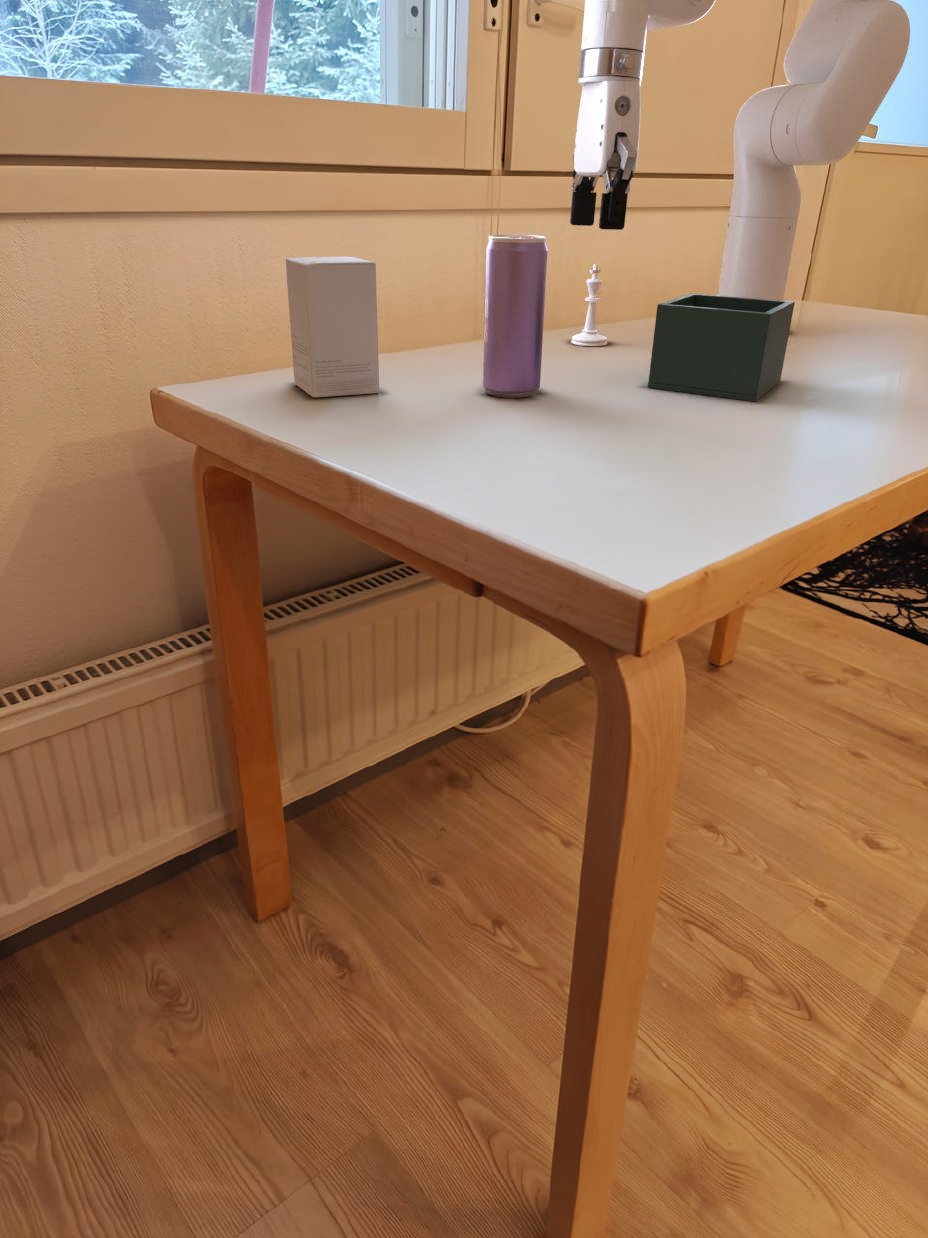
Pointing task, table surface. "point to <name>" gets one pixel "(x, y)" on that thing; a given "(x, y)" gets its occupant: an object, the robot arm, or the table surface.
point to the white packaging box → (333, 325)
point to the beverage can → (514, 314)
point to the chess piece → (591, 315)
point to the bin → (720, 345)
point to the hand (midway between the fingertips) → (595, 227)
